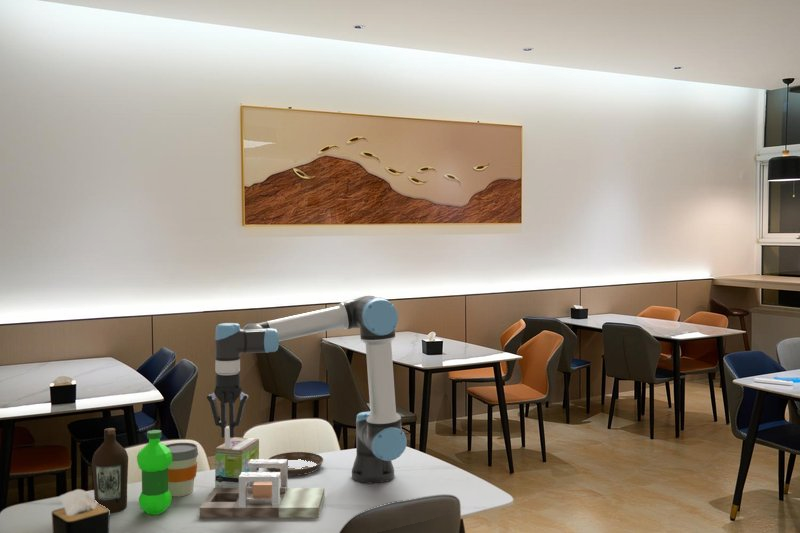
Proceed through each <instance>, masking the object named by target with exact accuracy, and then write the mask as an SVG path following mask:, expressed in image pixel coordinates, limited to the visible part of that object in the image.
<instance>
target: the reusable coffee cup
mask: <svg viewBox="0 0 800 533" xmlns="http://www.w3.org/2000/svg"><path fill="white" fill-rule="evenodd" d="M164 445H165V446H166V447H168V448H169V449H170V451H171V454H172V463H171V465H170V466H169V467H168V490H169V492H170V494H171V497H172V496H178V497H184V496H188V495H191V494H192V493H193V491H194V484H195V478H196V477H197V469H198V462H197V460H198V459H197V458H198V456H199V450H198V445H197V444H195V443H193V442H174V443H169V444H168V443H167V444H164Z"/></svg>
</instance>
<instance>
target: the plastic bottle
mask: <svg viewBox="0 0 800 533" xmlns="http://www.w3.org/2000/svg"><path fill="white" fill-rule="evenodd" d="M161 438H162V430H161V429H152V430H151V429H150V430H148V431H146V439H147V440H148V443H147V444H145V446H144V447H142V448H141V449H140V450H139V451H138V453H137V456H136V461H137V466H138V468H139V469H140V470H141V492H140V495H139V497H138V504H139V506H140V508H141V510H142V511H144V512H145V513H146V514H147V515H151V516H155V515H160V514H162V513H163V512H165V511H166V510H167V509H168V508H169V507H170V505H171V504H172V499H173V497H172V496H171V494H170V492H169V490H168V467H169V466H170V465H171V463H172V454H171V451H170V449H169V448H168V447H166V446H165V445H166V444H164V443H162V442H161Z"/></svg>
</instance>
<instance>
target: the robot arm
mask: <svg viewBox="0 0 800 533" xmlns="http://www.w3.org/2000/svg"><path fill="white" fill-rule="evenodd" d="M398 322H399V313H398V310H397V308H396V306H395V305H394V304H393V303H392V302H390V301H389V300H388V299H386V298H384V297H378V296H373V295H363V296H359V297H357V298H353V299H350V300H345V301H342V302H339V303H338V304H337V306H332V307H327V308H324V309H319V310H314V311H309V312H305V313H300V314H295V315H290V316H286V317H281V318H277V319H272V320H267V321H262V322H258V323H256V322H255V323H254V322H252V323H247V324H246V325H244V327H243V328H241V324H239V323H237V322H235V323H234V322H225V323H224V322H223V323H219V324H217V325H216V326H215V336H214V342H215V343H214V344H215V346H214V347H215V348H214V349H215V350H214V352H215V353H214V354H215V363H214V364H215V366H214V367H215V368H214V369H215V371H214V372H215V373H216V374H215V387H214V390H213V392H212V393H209V394H208V395H207V396H206V399H207V401H208V402H209V404H210V409H211V412H212V413H211V414H212V416H213V420H214V424H215V426H217V427H220V428H221V438H224V443H225V449H230V448H231V447H232V443H231V439H232V438H233V437H235V434H236V433H235V432H236V430H235V429H236V427H238V426H240V424H241V423H242V419H243V418H242V417H243V414H244V411H245V406H246V402H247V401H248V399H249V397H250V396H249V394H246V393H244V392H243V389H242V388H241V373H239V372H240V371H241V354H256V353H257V354H260V353H263V354H264V353H266V354H268V353H275V352H277V351H278V349H279V347H280V346H279V345H280V342H283V341H287V340H292V339H297V338H301V337H305V336H311V335H315V334H319V333H323V332H324V333H325V332H327V331H332V330H338V329H342V328H343V329H344V330H346V331H347V330H350V329H359V331H360V332H359V334H360V341H362V342H363V343H364V344H365V353H366V354H365V355H366V366H367V368H366V369H367V382H368V395H369V398H368V400H369V409H370V410H369V411H362V412H359V413H358V414H356V421H355V424H356V425H355V427H356V429H355V430H356V432H355V433H356V435H355V436H356V442H355V443H356V444H355V445H356V453H355V454H356V455H355V459H354V462H353V464H352V468H351V478H352V479H353V480H355V481H356V482H360V483H365V484H377V483H384V482H389V481H391V480H393V479H394V478H395V468H394V464H393V463H392V462H393V461H394V460H397V459H399V457H401V456H402V455H403V453H404V452H405V450H406V448H407V442H408V441H407V437H406V434H405V432H404V431H403V429H402V417H401V415H400V414H399V413H397V408H396V407H397V406H396V393H395V379H394V378H395V376H394V366H393V365H394V364H393V352H392V351H393V349H392V341H394V340H395V339H396V327H397V326H398ZM239 397H240V398H239ZM216 399H218V400H219V402H220V411H219V408H218V404H217V401H216ZM238 399H239V400H240V401H239V406H238V410H237V414H236V401H237V400H238ZM227 404H228V405H227ZM228 408H229V410H228ZM219 412H220V413H219ZM228 412H229V415H228V414H227V413H228ZM228 416H229V418H227V417H228ZM227 419H229V420H227ZM227 421H228V422H227ZM228 423H229V425H228Z"/></svg>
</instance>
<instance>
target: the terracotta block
mask: <svg viewBox="0 0 800 533" xmlns="http://www.w3.org/2000/svg"><path fill="white" fill-rule="evenodd" d="M253 498H272V482H254V484H253Z"/></svg>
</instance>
